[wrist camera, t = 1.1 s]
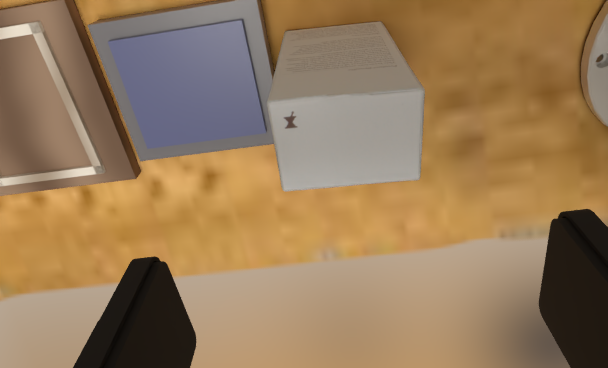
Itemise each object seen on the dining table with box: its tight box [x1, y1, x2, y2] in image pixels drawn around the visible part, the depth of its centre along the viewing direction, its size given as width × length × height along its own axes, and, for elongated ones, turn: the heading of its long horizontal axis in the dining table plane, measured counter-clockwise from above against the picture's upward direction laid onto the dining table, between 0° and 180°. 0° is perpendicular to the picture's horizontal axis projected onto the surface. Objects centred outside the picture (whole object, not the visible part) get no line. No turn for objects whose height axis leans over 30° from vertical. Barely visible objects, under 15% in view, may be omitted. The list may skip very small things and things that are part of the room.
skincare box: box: [267, 21, 425, 191], centre depth 23 cm, size 6×4×12 cm
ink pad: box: [88, 0, 274, 161], centre depth 28 cm, size 10×9×2 cm
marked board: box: [0, 0, 141, 196], centre depth 30 cm, size 12×12×1 cm
